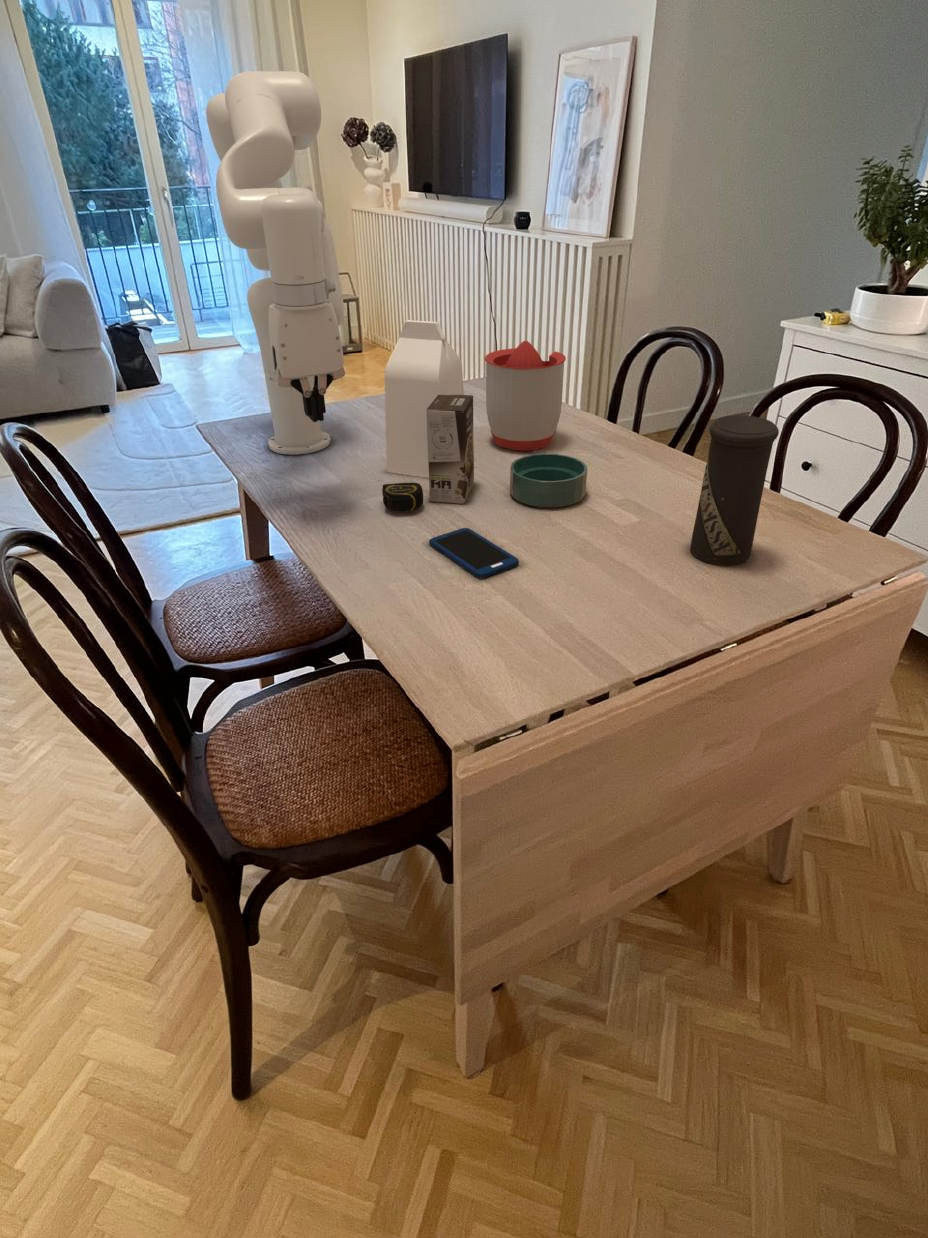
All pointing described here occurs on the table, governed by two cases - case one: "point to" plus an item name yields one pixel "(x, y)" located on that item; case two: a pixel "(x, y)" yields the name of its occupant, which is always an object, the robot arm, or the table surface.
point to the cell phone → (473, 552)
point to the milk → (416, 393)
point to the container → (732, 489)
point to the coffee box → (450, 448)
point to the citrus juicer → (523, 396)
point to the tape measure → (402, 496)
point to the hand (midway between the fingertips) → (316, 418)
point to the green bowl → (548, 480)
